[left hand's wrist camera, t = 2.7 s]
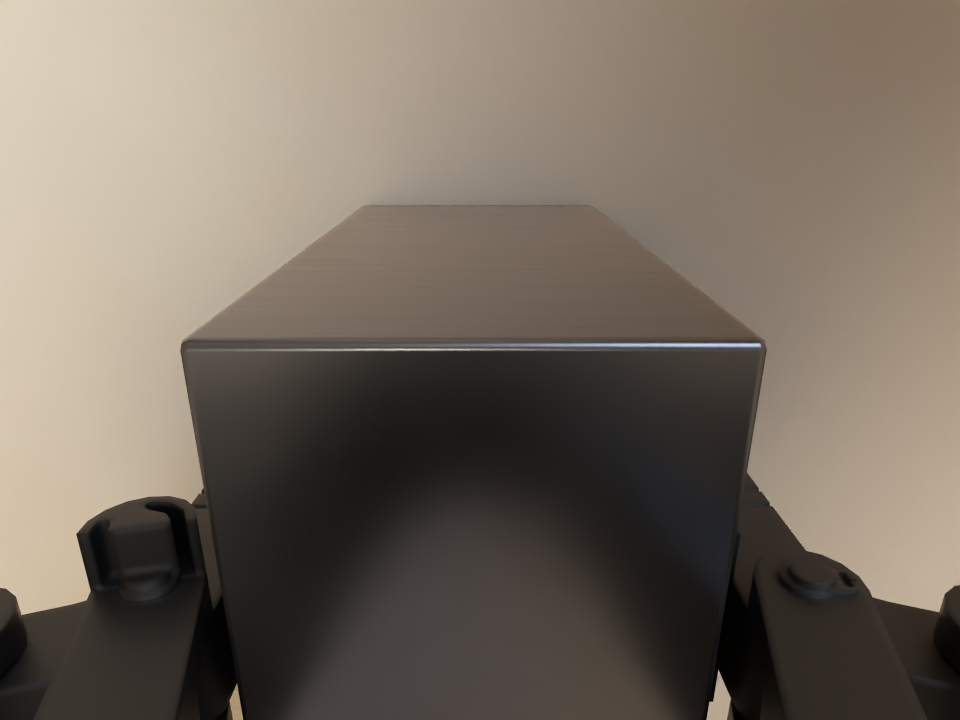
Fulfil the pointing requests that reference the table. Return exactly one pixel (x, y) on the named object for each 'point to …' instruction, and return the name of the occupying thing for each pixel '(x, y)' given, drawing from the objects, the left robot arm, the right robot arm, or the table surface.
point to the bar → (474, 471)
